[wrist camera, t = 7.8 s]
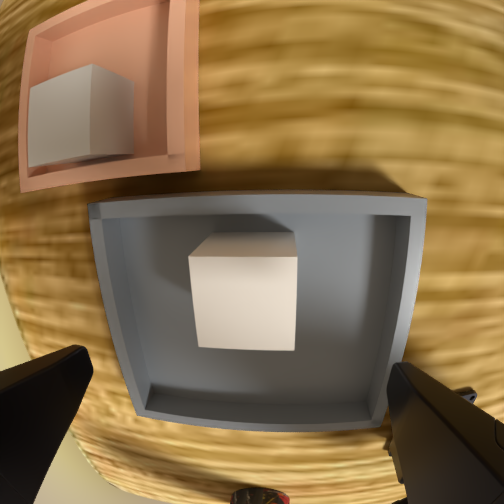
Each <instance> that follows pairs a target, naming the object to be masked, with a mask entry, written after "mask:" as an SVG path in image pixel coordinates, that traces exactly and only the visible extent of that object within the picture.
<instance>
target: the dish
mask: <svg viewBox="0 0 504 504" xmlns="http://www.w3.org/2000/svg"><path fill="white" fill-rule="evenodd" d="M199 1H200V0H88V1H86V2H84V3H81V4H79V5H77V6H75V7H72V8H70V9H68V10H66V11H64V12H62V13H60V14H58V15H56V16H54V17H52V18H50V19H48V20H46V21H45V22H43V23H41V24H39V25H37V26H36V27H34V28H32V29H31V30H29V34H28V39H27V45H26V50H25V57H24V63H23V71H22V79H21V89H20V102H19V122H18V157H19V178H20V191H21V193H24V192H29V191H35V190H40V189H46V188H51V187H57V186H63V185H70V184H76V183H83V182H90V181H97V180H105V179H113V178H121V177H130V176H140V175H150V174H161V173H173V172H186V171H196V170H200V143H199V97H198V42H199ZM90 64H95V65H97V66H100V67H102V68H104V69H107V70H109V71H111V72H114V73H116V74H118V75H120V76H123V77H125V78H127V79H129V80H131V81H134V111H133V129H134V154H131V155H123V156H116V157H109V158H103V159H96V160H90V161H84V162H79V163H69V164H58V165H47V166H38V167H29V168H28V112H29V97H30V88H31V87H33V86H36V85H38V84H40V83H43V82H45V81H47V80H50V79H52V78H54V77H57V76H59V75H62V74H65V73H67V72H70V71H73V70H75V69H78V68H81V67H84V66H87V65H90Z"/></svg>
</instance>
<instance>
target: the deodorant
mask: <svg viewBox="0 0 504 504" xmlns="http://www.w3.org/2000/svg"><path fill="white" fill-rule="evenodd" d="M289 500H290V499H289V497H288V496H287V495H286V494H284V493H282V492H280V491H277V490H273V489H266V488H246V489H241V490H238V491H236V492H234V493H233V494H232V497H231V502H230V504H289Z"/></svg>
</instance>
